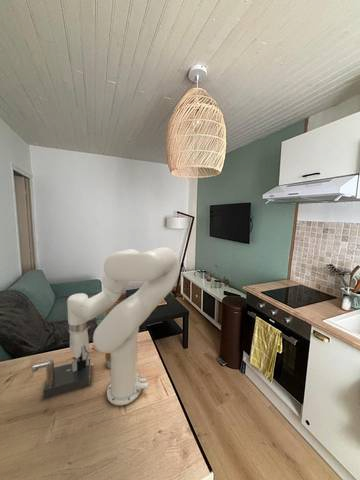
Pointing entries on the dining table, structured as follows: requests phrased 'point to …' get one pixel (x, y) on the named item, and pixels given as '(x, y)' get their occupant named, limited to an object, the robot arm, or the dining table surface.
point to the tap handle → (74, 362)
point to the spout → (49, 370)
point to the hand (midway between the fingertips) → (80, 366)
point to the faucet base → (67, 380)
